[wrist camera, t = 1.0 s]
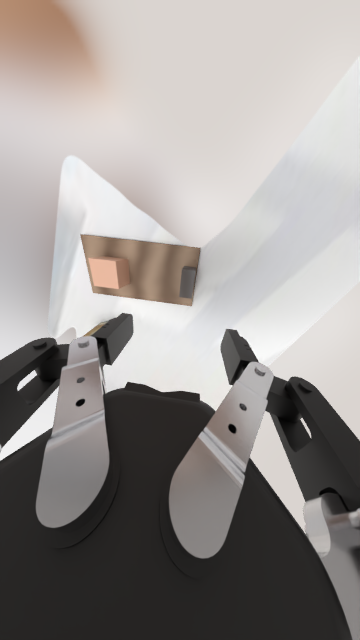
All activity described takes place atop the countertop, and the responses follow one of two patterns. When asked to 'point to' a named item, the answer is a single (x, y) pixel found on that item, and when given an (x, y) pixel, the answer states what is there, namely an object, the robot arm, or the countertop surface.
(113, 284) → the terracotta block
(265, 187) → the countertop surface
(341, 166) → the countertop surface
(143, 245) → the walnut strip
